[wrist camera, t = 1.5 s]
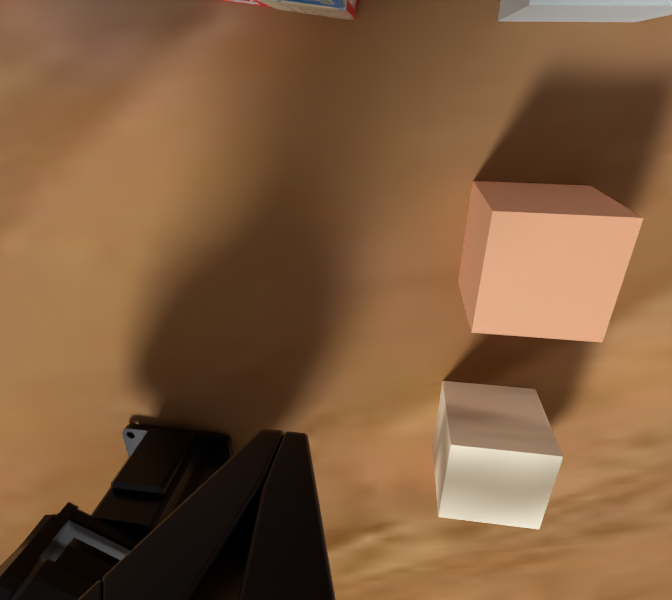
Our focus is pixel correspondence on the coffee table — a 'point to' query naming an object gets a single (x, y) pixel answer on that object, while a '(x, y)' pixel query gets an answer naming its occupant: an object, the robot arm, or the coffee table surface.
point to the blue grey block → (583, 10)
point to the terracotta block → (544, 259)
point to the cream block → (493, 455)
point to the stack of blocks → (310, 6)
